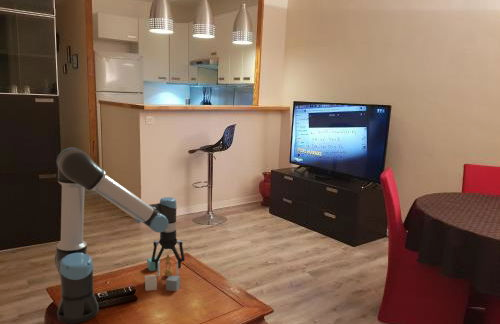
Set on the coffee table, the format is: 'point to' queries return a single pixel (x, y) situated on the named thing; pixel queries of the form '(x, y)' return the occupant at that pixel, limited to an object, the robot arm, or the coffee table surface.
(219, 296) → the coffee table surface
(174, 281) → the cube slate
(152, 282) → the cube offwhite
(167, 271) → the figurine
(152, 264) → the cube teal
